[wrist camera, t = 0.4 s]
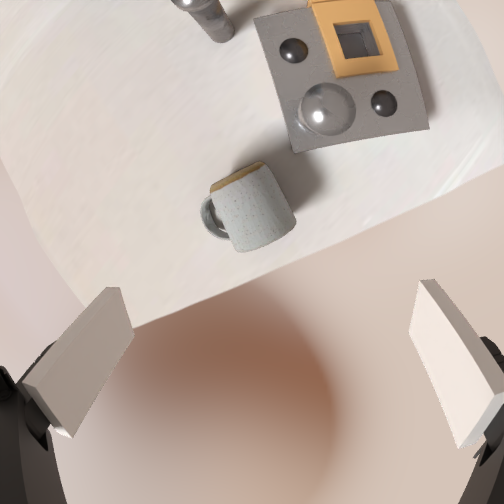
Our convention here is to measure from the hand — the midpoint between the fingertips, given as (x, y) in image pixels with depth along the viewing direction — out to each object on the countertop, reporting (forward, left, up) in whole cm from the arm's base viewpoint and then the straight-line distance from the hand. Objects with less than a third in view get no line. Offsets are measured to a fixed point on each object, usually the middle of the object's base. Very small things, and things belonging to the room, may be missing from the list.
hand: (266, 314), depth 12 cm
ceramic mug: (+1, -4, -26) cm, 27 cm away
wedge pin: (-21, -1, -26) cm, 34 cm away
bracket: (-21, +13, -26) cm, 36 cm away
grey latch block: (-12, +11, -26) cm, 31 cm away
